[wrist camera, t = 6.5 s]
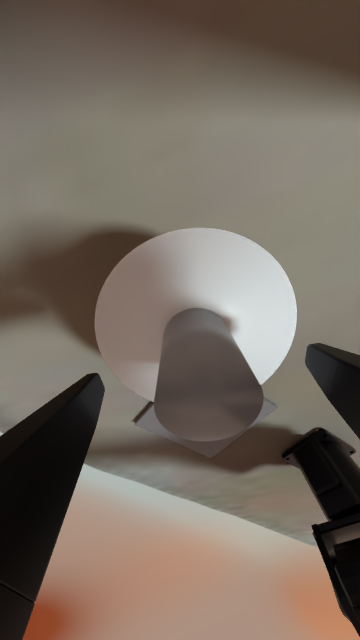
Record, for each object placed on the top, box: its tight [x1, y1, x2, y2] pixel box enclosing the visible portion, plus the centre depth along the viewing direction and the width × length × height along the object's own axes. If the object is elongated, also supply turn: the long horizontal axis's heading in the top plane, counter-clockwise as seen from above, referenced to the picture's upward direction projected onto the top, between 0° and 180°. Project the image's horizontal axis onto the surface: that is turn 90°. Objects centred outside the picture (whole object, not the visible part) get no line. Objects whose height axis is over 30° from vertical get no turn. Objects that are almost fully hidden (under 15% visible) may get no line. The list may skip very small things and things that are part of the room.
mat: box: [135, 397, 277, 459], centre depth 20 cm, size 11×11×1 cm
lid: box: [95, 228, 297, 441], centre depth 8 cm, size 11×11×5 cm
